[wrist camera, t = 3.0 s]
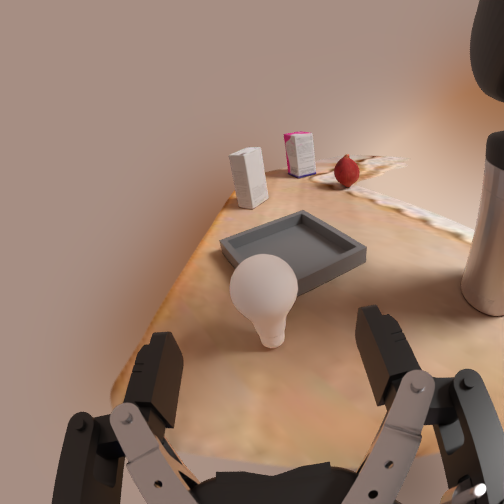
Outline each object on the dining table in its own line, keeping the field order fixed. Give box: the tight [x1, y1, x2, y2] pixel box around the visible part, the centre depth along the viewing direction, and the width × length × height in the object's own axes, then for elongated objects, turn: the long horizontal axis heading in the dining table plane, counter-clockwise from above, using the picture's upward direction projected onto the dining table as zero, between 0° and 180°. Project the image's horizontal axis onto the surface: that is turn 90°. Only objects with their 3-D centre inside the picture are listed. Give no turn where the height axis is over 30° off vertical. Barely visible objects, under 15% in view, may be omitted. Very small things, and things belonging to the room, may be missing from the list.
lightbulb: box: [230, 254, 298, 348], centre depth 27 cm, size 6×6×11 cm
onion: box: [334, 154, 359, 187], centre depth 62 cm, size 6×6×8 cm
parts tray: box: [219, 210, 367, 296], centre depth 43 cm, size 16×16×2 cm
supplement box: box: [284, 131, 316, 178], centre depth 73 cm, size 6×6×12 cm
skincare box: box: [229, 147, 268, 209], centre depth 60 cm, size 6×4×12 cm
